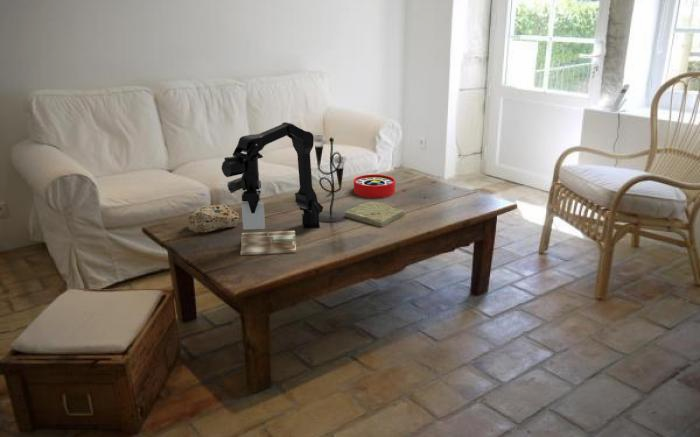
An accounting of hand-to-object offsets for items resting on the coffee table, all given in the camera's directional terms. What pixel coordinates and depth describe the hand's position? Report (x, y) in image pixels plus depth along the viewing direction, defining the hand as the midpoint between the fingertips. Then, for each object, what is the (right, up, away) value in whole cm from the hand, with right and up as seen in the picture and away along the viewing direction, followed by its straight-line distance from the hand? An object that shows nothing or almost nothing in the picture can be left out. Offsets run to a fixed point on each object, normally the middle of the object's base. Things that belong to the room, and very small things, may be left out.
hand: (253, 212), depth 212 cm
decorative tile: (+47, -2, +34) cm, 58 cm away
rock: (-20, -6, +23) cm, 31 cm away
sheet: (0, -6, +2) cm, 6 cm away
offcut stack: (+11, -13, 0) cm, 17 cm away
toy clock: (+48, +10, +67) cm, 83 cm away
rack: (+5, -13, +3) cm, 14 cm away
